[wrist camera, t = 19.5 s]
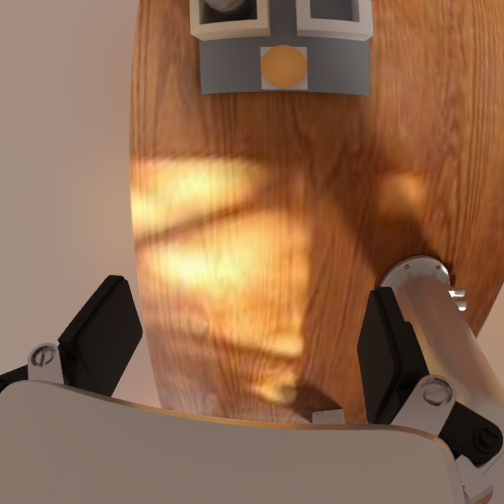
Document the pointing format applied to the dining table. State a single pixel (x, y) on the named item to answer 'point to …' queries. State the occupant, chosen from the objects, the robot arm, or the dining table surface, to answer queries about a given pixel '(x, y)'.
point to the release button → (283, 66)
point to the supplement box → (328, 417)
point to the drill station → (286, 33)
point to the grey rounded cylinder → (231, 9)
